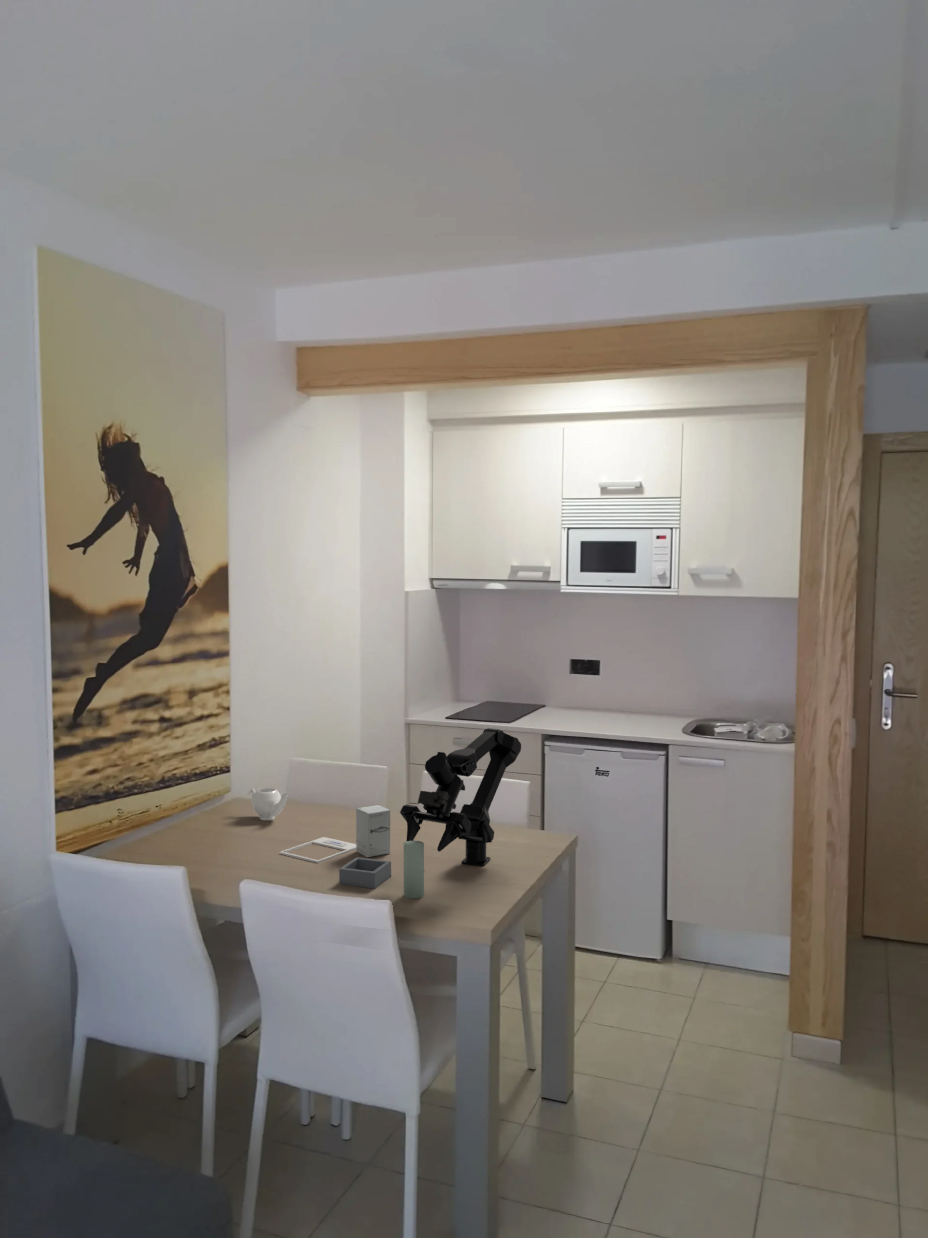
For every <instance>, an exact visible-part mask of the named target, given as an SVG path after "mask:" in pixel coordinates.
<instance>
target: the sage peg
mask: <svg viewBox="0 0 928 1238" xmlns="http://www.w3.org/2000/svg"><path fill="white" fill-rule="evenodd" d="M424 896H425V843H424V842H423V841H421V840H413V841H407V842H406V841H404V842H403V897H405V898H406V899H410V900H411V899H413V900H416V899H421V898H423V897H424Z"/></svg>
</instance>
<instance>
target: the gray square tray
mask: <svg viewBox="0 0 928 1238" xmlns="http://www.w3.org/2000/svg"><path fill="white" fill-rule="evenodd" d="M338 869H339V871H338V873H339V875H338V878H339V879H338V880H339V881H338V882H339V883H338V884H339V885H341V886H342V885H343V886H350V887H351V886H352V887H359V888H366V889H374V890H376V889H377V888H378V887H380V886H381V885H382V884H383V883H385V881H387V880H388V879H390V878H391V877H392V861H390V860H384V859H383V860H382V859H373V858H367V857H357V856H356V857H355V858H354V859H352V860H350V861H349V862H347V863H346V864H344V865H343V866H342V867H340V868H338Z"/></svg>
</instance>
